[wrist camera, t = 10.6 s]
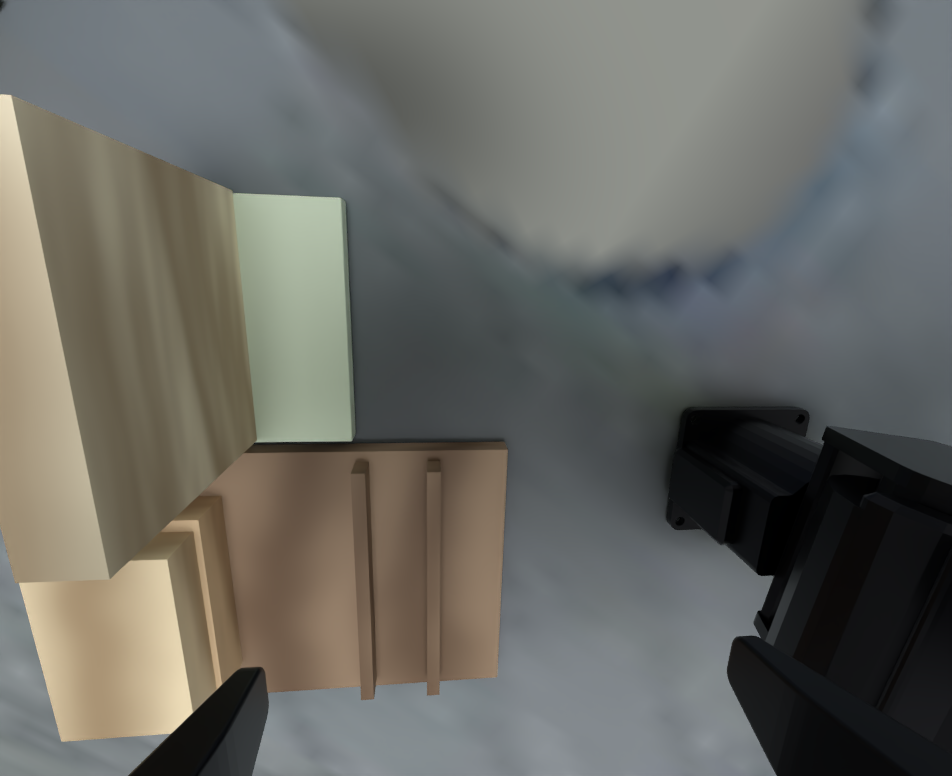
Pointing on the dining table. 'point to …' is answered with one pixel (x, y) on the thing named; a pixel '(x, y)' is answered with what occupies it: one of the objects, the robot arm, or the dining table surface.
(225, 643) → the oak offcut
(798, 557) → the robot arm
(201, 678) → the pine offcut
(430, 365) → the dining table surface
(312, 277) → the sage pad
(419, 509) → the walnut stand
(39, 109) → the birch board
